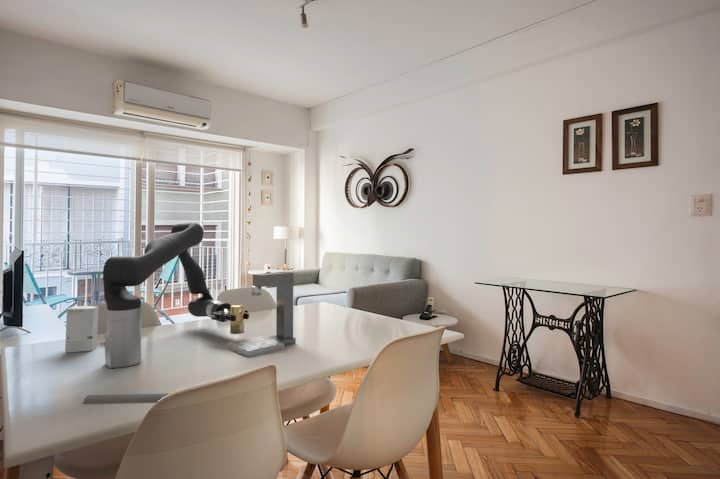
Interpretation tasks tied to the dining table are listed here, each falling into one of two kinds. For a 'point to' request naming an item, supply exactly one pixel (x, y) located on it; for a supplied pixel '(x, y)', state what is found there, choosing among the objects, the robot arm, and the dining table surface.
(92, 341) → the skincare box
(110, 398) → the half round rod
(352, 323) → the dining table surface
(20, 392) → the dining table surface
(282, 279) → the press
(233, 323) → the cylinder
